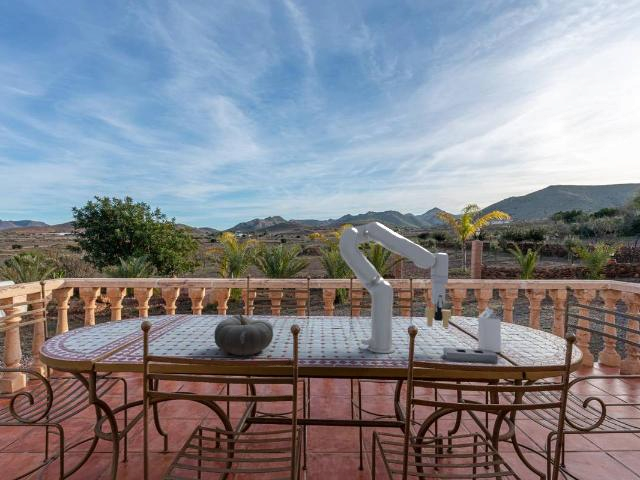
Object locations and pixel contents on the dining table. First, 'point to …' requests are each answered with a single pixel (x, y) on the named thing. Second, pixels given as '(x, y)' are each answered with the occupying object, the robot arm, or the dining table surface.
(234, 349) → the gourd
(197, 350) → the dining table surface
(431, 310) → the clip
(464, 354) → the grey block with holes
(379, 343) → the robot arm
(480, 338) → the milk carton
